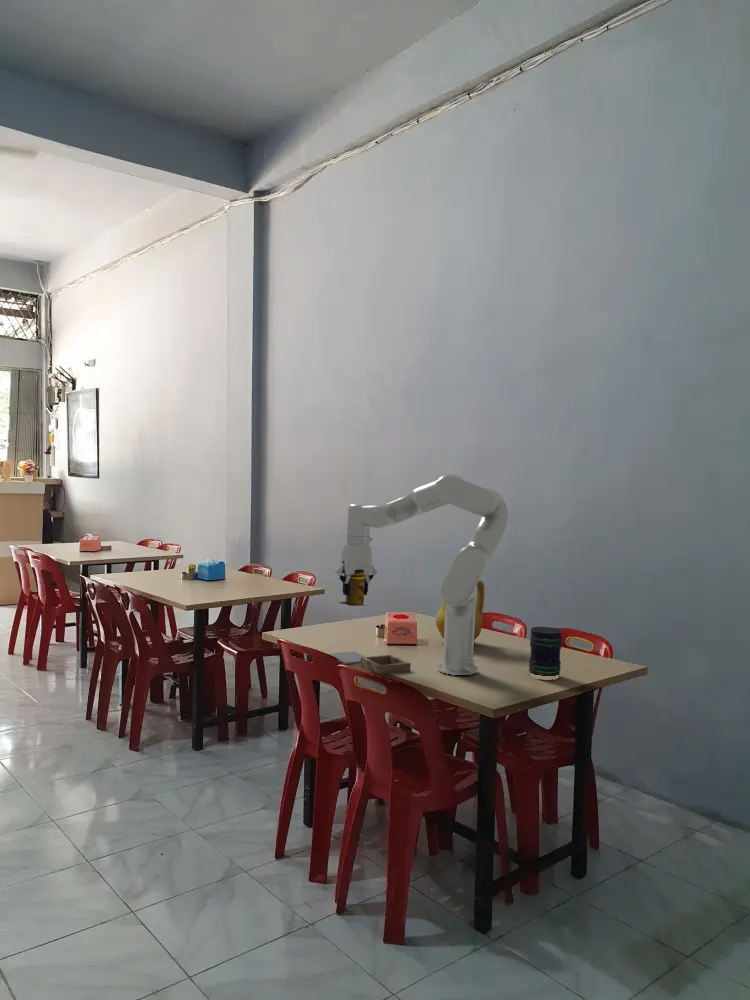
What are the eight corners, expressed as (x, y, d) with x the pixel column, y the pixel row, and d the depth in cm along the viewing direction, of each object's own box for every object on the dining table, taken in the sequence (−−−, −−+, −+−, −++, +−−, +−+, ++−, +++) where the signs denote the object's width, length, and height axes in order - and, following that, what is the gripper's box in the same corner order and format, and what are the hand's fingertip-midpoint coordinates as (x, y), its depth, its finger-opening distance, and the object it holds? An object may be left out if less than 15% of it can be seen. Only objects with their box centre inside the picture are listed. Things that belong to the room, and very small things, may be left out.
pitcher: (432, 638, 297) (434, 573, 296) (480, 640, 297) (483, 575, 297) (437, 648, 279) (440, 580, 279) (488, 650, 280) (491, 581, 279)
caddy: (410, 671, 246) (410, 663, 246) (379, 674, 241) (379, 666, 241) (390, 662, 257) (391, 654, 257) (360, 664, 251) (360, 657, 251)
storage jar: (556, 673, 251) (558, 627, 250) (563, 681, 241) (565, 633, 241) (525, 671, 251) (527, 626, 250) (531, 680, 241) (533, 632, 241)
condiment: (368, 605, 256) (370, 569, 256) (345, 606, 252) (347, 570, 252) (358, 601, 263) (360, 566, 262) (335, 602, 259) (337, 567, 258)
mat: (372, 661, 256) (372, 660, 256) (345, 664, 251) (345, 662, 251) (354, 653, 268) (354, 651, 268) (328, 655, 263) (328, 653, 263)
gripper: (374, 539, 265) (372, 592, 265) (329, 539, 256) (326, 593, 257) (385, 542, 258) (383, 595, 259) (339, 542, 250) (337, 597, 250)
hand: (355, 594), depth 258 cm, fingers closed on condiment, 6 cm apart
